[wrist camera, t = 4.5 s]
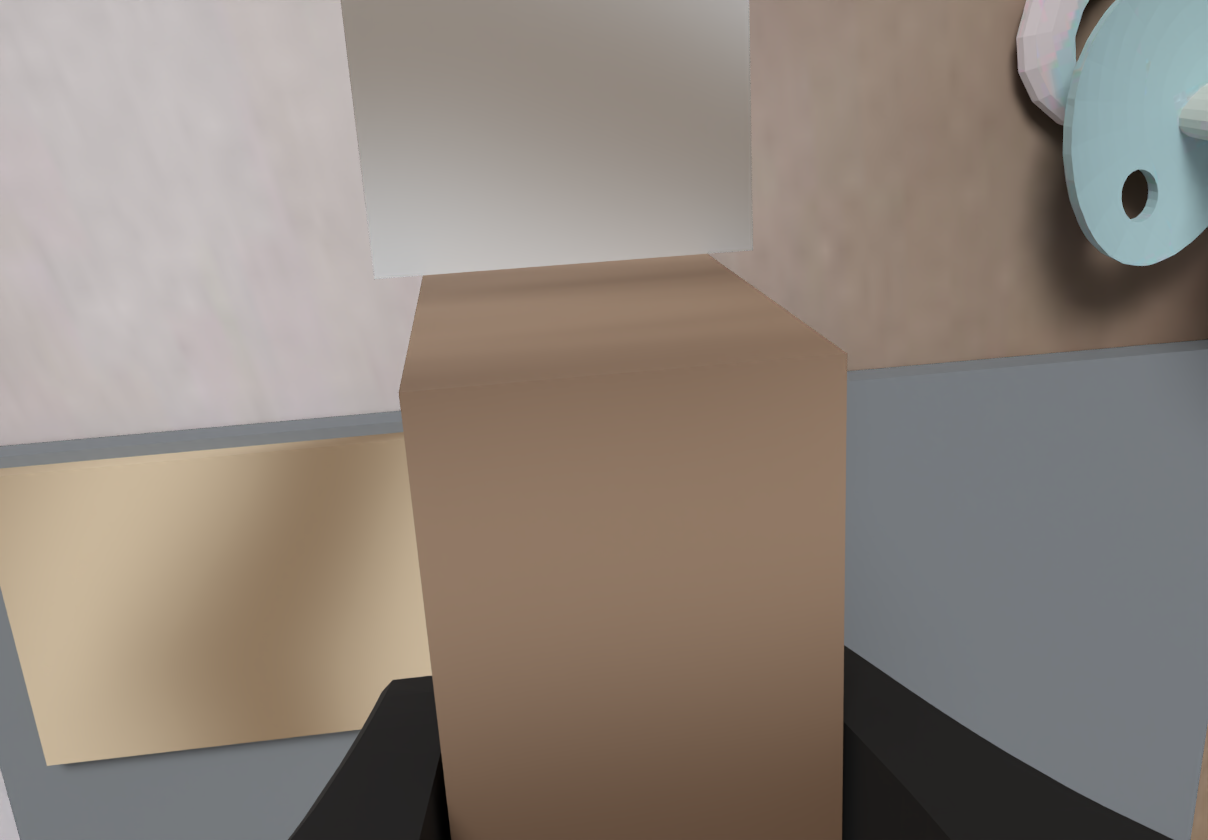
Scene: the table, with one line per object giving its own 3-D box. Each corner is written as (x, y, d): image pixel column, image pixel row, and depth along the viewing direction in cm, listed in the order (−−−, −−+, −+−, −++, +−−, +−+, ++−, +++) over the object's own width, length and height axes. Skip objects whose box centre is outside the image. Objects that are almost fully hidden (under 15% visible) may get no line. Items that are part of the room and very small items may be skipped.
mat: (1241, 336, 21) (1263, 344, 21) (1146, 1013, 27) (1161, 1034, 26) (-68, 452, 19) (-84, 464, 18) (126, 1168, 24) (118, 1195, 24)
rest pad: (575, 416, 19) (577, 424, 19) (593, 690, 21) (596, 702, 21) (-18, 470, 18) (-28, 479, 18) (55, 752, 20) (46, 765, 20)
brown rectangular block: (754, 905, 15) (889, 1289, 10) (458, 946, 15) (455, 1365, 10) (736, -48, 11) (933, -142, 7) (342, -28, 11) (247, -113, 6)
